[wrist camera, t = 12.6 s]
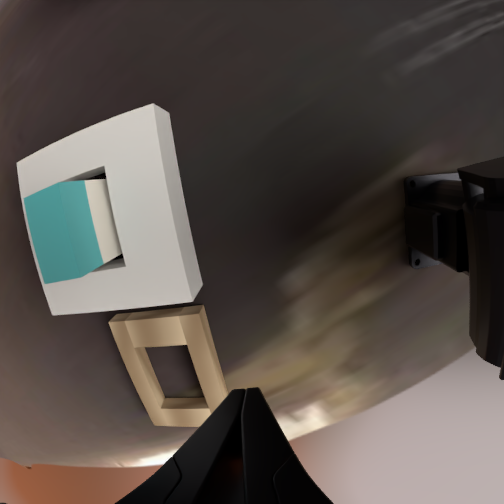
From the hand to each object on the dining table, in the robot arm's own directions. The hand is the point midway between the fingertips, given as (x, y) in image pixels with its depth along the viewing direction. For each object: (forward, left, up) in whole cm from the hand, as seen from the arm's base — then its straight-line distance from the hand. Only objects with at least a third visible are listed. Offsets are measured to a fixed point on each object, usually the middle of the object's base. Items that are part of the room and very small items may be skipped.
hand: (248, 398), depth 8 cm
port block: (+10, -6, -12) cm, 17 cm away
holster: (+8, +7, -12) cm, 16 cm away
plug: (+10, -6, -12) cm, 17 cm away
